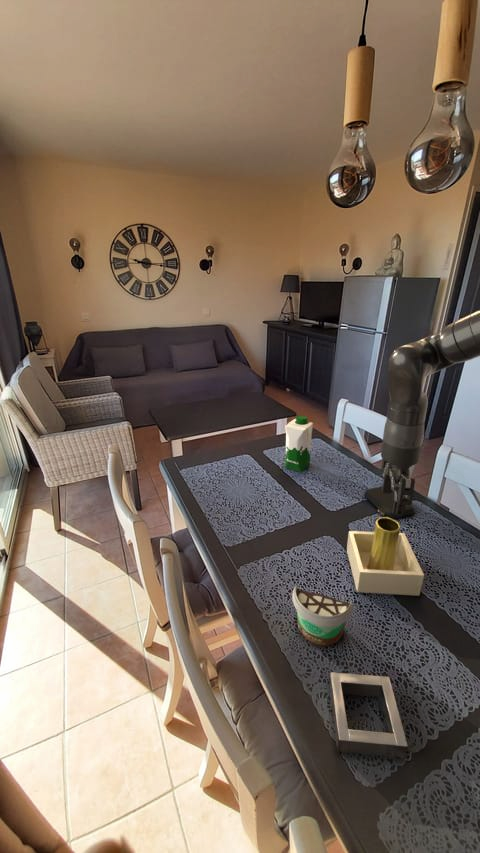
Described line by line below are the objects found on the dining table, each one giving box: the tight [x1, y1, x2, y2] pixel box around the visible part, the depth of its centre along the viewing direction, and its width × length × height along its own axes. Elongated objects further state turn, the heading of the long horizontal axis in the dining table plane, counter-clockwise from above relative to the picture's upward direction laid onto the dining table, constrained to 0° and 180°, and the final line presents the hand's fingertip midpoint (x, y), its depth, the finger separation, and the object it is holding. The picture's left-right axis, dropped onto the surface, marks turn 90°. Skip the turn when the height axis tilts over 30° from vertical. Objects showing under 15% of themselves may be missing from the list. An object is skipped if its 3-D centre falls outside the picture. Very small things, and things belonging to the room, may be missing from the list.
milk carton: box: [284, 414, 314, 473], centre depth 134 cm, size 9×9×20 cm
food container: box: [291, 585, 354, 647], centre depth 73 cm, size 12×6×10 cm, turn 68°
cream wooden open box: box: [346, 530, 425, 597], centre depth 89 cm, size 14×14×7 cm
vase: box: [367, 516, 401, 571], centre depth 87 cm, size 6×6×14 cm
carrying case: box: [364, 485, 416, 520], centre depth 114 cm, size 11×3×15 cm
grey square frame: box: [328, 671, 409, 759], centre depth 61 cm, size 10×10×4 cm
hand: (392, 503), depth 82 cm, fingers open, 8 cm apart
